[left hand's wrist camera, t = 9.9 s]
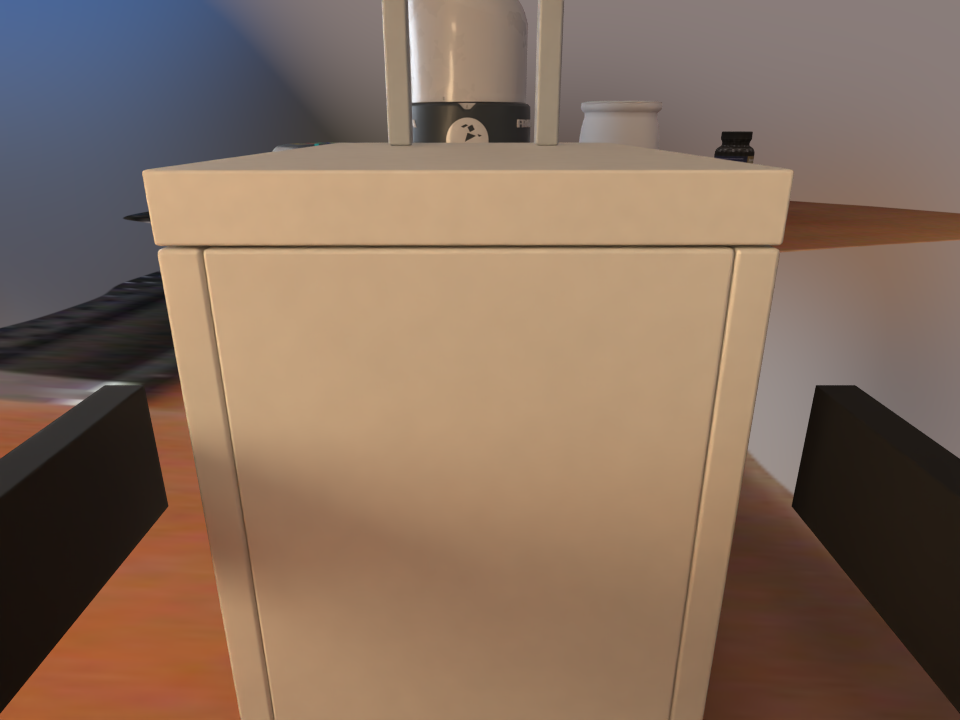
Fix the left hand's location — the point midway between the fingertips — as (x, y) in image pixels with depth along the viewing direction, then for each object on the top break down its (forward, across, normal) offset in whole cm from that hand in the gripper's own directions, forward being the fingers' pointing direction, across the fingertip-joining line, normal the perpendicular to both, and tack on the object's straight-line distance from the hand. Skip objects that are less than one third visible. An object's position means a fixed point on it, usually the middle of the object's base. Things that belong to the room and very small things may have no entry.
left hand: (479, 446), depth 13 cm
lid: (+5, 0, +4) cm, 7 cm away
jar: (+79, +19, -7) cm, 82 cm away
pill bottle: (+98, +42, -7) cm, 107 cm away
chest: (+5, 0, -7) cm, 8 cm away
